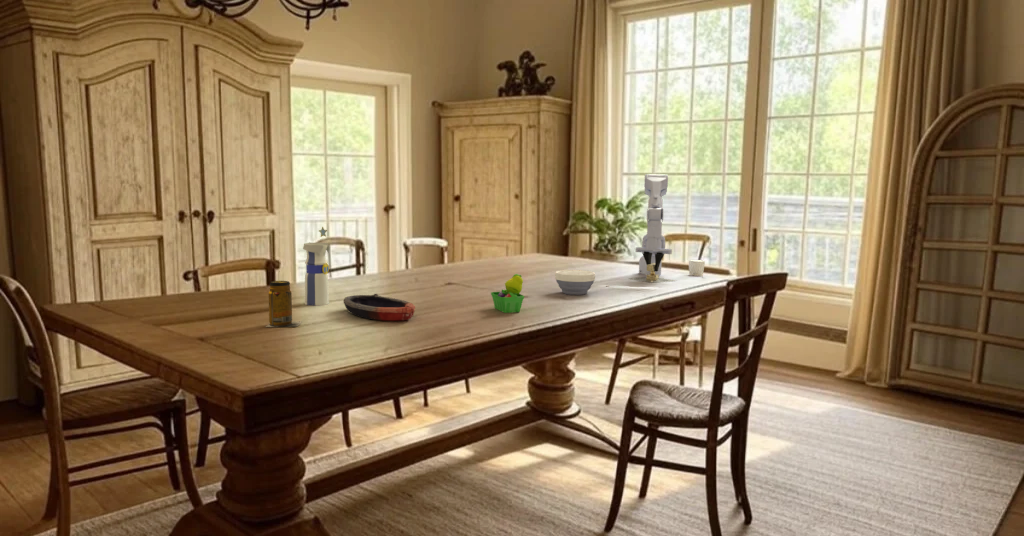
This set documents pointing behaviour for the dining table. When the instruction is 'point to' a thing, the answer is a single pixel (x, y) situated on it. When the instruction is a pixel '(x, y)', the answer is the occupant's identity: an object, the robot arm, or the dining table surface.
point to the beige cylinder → (696, 267)
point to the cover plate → (652, 280)
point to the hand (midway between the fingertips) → (652, 270)
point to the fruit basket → (509, 296)
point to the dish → (379, 307)
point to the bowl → (574, 281)
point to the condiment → (280, 305)
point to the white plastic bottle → (316, 273)
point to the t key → (652, 272)
